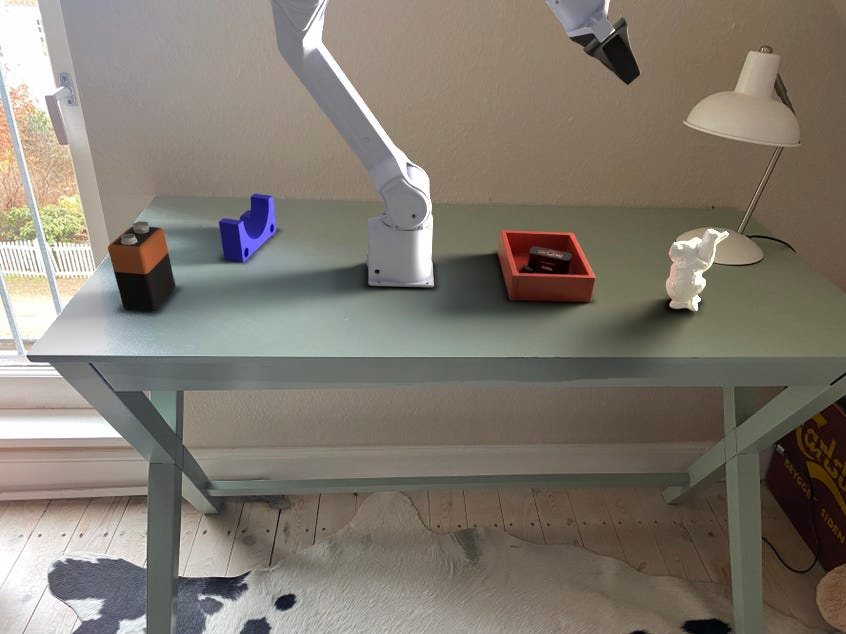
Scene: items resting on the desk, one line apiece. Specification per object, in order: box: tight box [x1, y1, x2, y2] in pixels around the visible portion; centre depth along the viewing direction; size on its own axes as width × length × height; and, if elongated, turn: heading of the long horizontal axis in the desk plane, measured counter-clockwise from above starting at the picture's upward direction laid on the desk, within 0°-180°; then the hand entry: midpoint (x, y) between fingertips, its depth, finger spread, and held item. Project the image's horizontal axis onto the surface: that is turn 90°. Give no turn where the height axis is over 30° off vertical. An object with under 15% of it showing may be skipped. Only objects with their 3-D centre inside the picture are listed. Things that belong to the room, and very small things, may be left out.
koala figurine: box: [665, 228, 730, 312], centre depth 96 cm, size 8×7×12 cm
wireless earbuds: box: [519, 246, 572, 275], centre depth 102 cm, size 5×7×3 cm, turn 73°
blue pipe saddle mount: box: [218, 193, 277, 263], centre depth 102 cm, size 12×4×6 cm, turn 171°
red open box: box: [497, 230, 596, 303], centre depth 102 cm, size 12×16×4 cm
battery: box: [107, 220, 176, 312], centre depth 85 cm, size 4×7×10 cm, turn 178°
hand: (625, 72), depth 86 cm, fingers open, 7 cm apart
